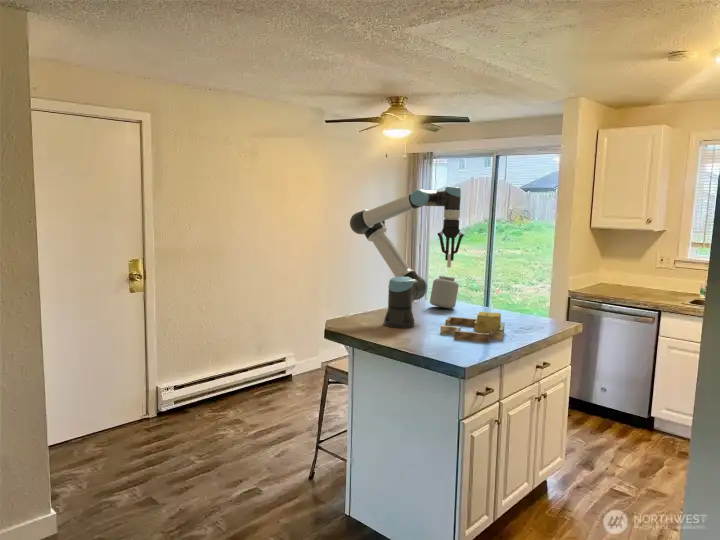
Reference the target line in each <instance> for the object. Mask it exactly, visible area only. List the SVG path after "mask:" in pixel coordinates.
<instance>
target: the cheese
mask: <svg viewBox="0 0 720 540" xmlns="http://www.w3.org/2000/svg"><path fill="white" fill-rule="evenodd" d="M476 319H477V327H476V330H475V333H485V334H486V331H487V330H493V331H499V329H500V325H501V323H502V321H501V319H502V315H501V313H500V312H488V311H478V314H477V316H476Z"/></svg>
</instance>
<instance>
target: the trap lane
mask: <svg viewBox="0 0 720 540" xmlns="http://www.w3.org/2000/svg"><path fill="white" fill-rule="evenodd" d="M453 325H456V326H453ZM457 325H458V326H457ZM461 326H465V327H466V326H467V327H474V328H473V330H475V332H473V331H462V330H461ZM476 327H477V318H471V317H459V316H458V317H456V316H448V317H447V319H445V324H444V325H443V324H441V325H440V334H441V335H442V334H443V335H452V336H453V337H454V340H464V341H472V342H481V343H489V342H490V339H493V340H500V341H501V340H503V337H504V333H505V322H501V324H500V329H499V331H493V330H487V331H486V334H485V333H476Z"/></svg>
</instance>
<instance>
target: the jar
mask: <svg viewBox="0 0 720 540" xmlns="http://www.w3.org/2000/svg"><path fill="white" fill-rule="evenodd" d="M447 271H448V269H447V270H446V271H445V273H446V272H447ZM458 292H459V283H458V282H457V281H456V280H455V278H454V277H448V276H445V275H444V276H442V275H439V276H438V278H435V279H434V280H433V282H432V286H431V292H430V298H429V303H430V304H431V305H432V306H434V307H439V308H445V309H454V308H455V307H456V303H457V297H458Z"/></svg>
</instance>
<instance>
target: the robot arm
mask: <svg viewBox="0 0 720 540" xmlns="http://www.w3.org/2000/svg"><path fill="white" fill-rule="evenodd" d="M461 191H462V189H461V187H458V186H445V189H444V190H429V189H428V190H427V189H423V188H422V189H420V188H419V189H415V190H413V191H412V193H410V194H408V195H404V196H401V197H400V198H397V199H395V200H392V201H389V202H387V203H384V204H382V205H380V206H379V205H378V206H376V207H374V208H372V209H363V210H361V211H359V212H355V213H354V214H352V215H351V217H350V220H349V226H350V229H351V230H352V232H353V233H355V234H358V235H364V236H365V237H366V239H367V241H368V242H372V243H373V245H374V246H375V248H376V249H377V251H378V253H379V254H380V256H381V257H382V259H383V260H384V262H385V263H386V265H387V266H388V268H389V269H390V271H391V272H392V274H393V275H394V276H393V277H392V278H390V280H389V283H388V296H387V297H388V299H387V311H386V314H385V316H384V319H383V325H384V326H387V327H388V328H389V327H390V328H398V329H405V328H406V329H409V328H412V327H415V324H416V323H415V321H416V320H415V318H414V314H413V310H412V307H413V301H418V300H420V299H422V298H423V297H425V295H426V294H427V292H428V282H427V281H426V279H425V278H424V277H422V276H420V275H418V273H417V272H416V271H415V270H414V269H411V268H410V267H409V266H408V264H407V262H406V261H405V259H404V258H403V256H402V254H400V252H399V250H398V248H397V247H396V246H395V243H394V242H393V241H392V240H391V238H390V237H389V235H388V233H387V229H388V228H387V227H386V221H387V220H390V219H392V218H395V217H398V216H400V215H402V214H405V213H408V212H411V211H413V210H416V209H419V208H422V207H443V208H444V209H443V227H442V229H441V231H440V232H437V236H438V238H439V243H440V249H441V252H442V253H444V254H445V258H444V260H445V261H446V268H447V269H448V268H449V269H450V268H452V262H453V261H454V258H455V256H454V255H455V254H457V253H458V252H459V249H460V246H461V242H462V240H463V239H462V238H463V237H464V236H465V233H462V232H461V231H460V220H459V219H460V215H461V198H462V195H461ZM443 236H444V237H445V243H444V238H443ZM456 237H458V240H457V243H456V246H455V241H456ZM450 239H451V242H450ZM450 243H451V244H450Z"/></svg>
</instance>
